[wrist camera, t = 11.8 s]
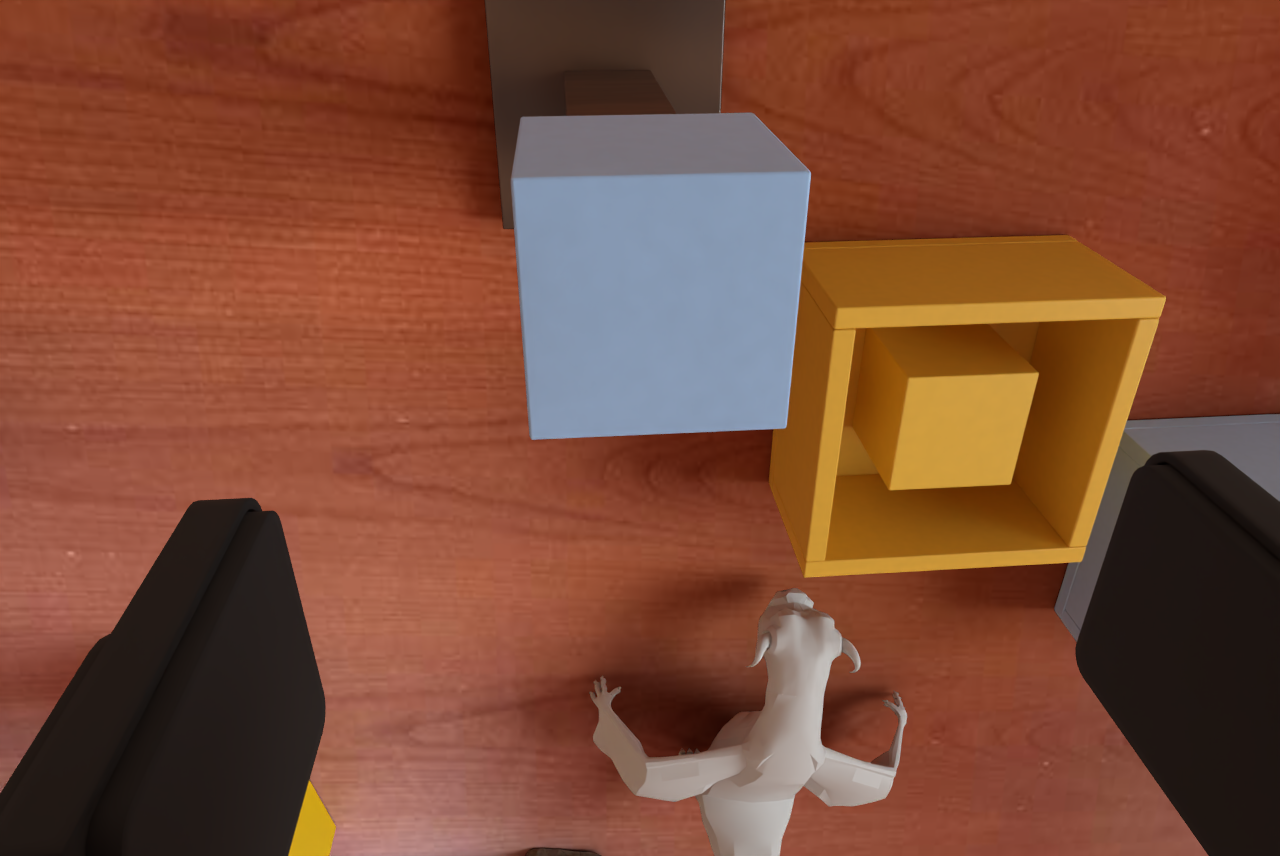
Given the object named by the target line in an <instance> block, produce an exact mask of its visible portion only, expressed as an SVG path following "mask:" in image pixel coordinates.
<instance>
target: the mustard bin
mask: <svg viewBox="0 0 1280 856" xmlns="http://www.w3.org/2000/svg"><path fill="white" fill-rule="evenodd" d="M1165 300H1166V297H1165V296H1163V295H1162V294H1160V293H1159V292H1157V291H1156V290H1154V289H1152V288H1151V287H1149V286H1148V285H1146V284H1144V283H1143V282H1141V281H1140V280H1138V279H1137V278H1135V277H1133V276H1132V275H1130V274H1129V273H1127V272H1126V271H1124V270H1122V269H1121V268H1119V267H1118V266H1116V265H1114V264H1113V263H1111V262H1110V261H1108V260H1107V259H1105V258H1103V257H1102V256H1100V255H1099V254H1097V253H1096V252H1094V251H1092V250H1091V249H1089V248H1088V247H1086V246H1084V245H1083V244H1081V243H1080V242H1078V241H1077V240H1075V239H1074V238H1072V237H1070V236H1069V235H1048V236H1012V237H977V238H942V239H907V240H871V241H836V242H804V252H803V262H802V273H801V283H800V293H799V304H798V314H797V324H796V335H795V345H794V356H793V366H792V376H791V387H790V397H789V407H788V418H787V426H786V428H784V429H773V439H772V451H771V462H770V473H769V485H770V488H771V490H772V493H773V496H774V499H775V501H776V504H777V507H778V509H779V512H780V515H781V517H782V520H783V523H784V525H785V528H786V531H787V533H788V536H789V539H790V541H791V544H792V547H793V549H794V552H795V555H796V557H797V560H798V563H799V565H800V568H801V571H802V573H803V576H804V577H823V576H840V575H858V574H876V573H894V572H912V571H930V570H947V569H965V568H983V567H1001V566H1019V565H1036V564H1054V563H1072V562H1082V559H1083V556H1084V553H1085V550H1086V545H1087V543H1088V540H1089V537H1090V534H1091V531H1092V528H1093V524H1094V521H1095V518H1096V515H1097V512H1098V509H1099V506H1100V503H1101V500H1102V496H1103V493H1104V490H1105V487H1106V484H1107V481H1108V478H1109V475H1110V472H1111V468H1112V465H1113V462H1114V459H1115V456H1116V453H1117V450H1118V447H1119V444H1120V440H1121V437H1122V434H1123V431H1124V428H1125V425H1126V422H1127V419H1128V416H1129V412H1130V409H1131V406H1132V403H1133V400H1134V397H1135V394H1136V391H1137V388H1138V384H1139V381H1140V378H1141V375H1142V372H1143V369H1144V366H1145V363H1146V360H1147V357H1148V353H1149V350H1150V347H1151V344H1152V341H1153V338H1154V335H1155V332H1156V329H1157V325H1158V322H1159V317H1160V316H1161V313H1162V310H1163V307H1164V303H1165ZM965 324H988V325H989V326H990V327H991V328H992V329H994V330H995V331H996V332H997V333H998V334H999V335H1000V336H1001V337H1002V338H1003V339H1004V340H1005V341H1006V342H1007V343H1008V344H1009V345H1010V346H1011V347H1012V348H1013V349H1014V350H1016V351H1017V352H1018V353H1019V354H1020V355H1021V356H1022V357H1023V358H1024V359H1025V360H1026V361H1027V362H1028V363H1029V364H1030V365H1031V366H1032V367H1033V368H1034V369H1035V370H1036V371H1038V373H1039V375H1038V379H1037V383H1036V387H1035V391H1034V395H1033V399H1032V403H1031V407H1030V411H1029V415H1028V418H1027V422H1026V426H1025V430H1024V434H1023V438H1022V442H1021V446H1020V450H1019V454H1018V458H1017V461H1016V465H1015V469H1014V473H1013V477H1012V481H1011V484H1010V485H991V486H970V487H950V488H929V489H909V490H888V488H887V486H886V485H885V483H884V481H883V480H882V478H881V476H880V474H879V473H878V471H877V469H876V467H875V466H874V464H873V462H872V460H871V459H870V457H869V455H868V453H867V452H866V450H865V448H864V447H863V445H862V443H861V441H860V440H859V438H858V436H857V434H856V433H855V431H854V429H853V427H852V425H853V418H854V411H855V403H856V396H857V389H858V382H859V375H860V368H861V361H862V354H863V347H864V340H865V332H866V328H881V327H909V326H937V325H965Z"/></svg>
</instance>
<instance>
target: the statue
mask: <svg viewBox="0 0 1280 856" xmlns="http://www.w3.org/2000/svg"><path fill="white" fill-rule="evenodd" d="M526 856H601V855H599V854H596V853H593V852H575V851H568V850H562V849H545V848H539V849H532V850H530V851H529V852H527V854H526Z"/></svg>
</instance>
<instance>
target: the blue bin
mask: <svg viewBox="0 0 1280 856" xmlns="http://www.w3.org/2000/svg"><path fill="white" fill-rule="evenodd" d="M1195 450H1210V451H1215V452H1216V453H1218V454H1220V455H1222V456H1223V457H1224V458H1226V459H1227V460H1228V461H1229V462H1231V463H1232V464H1233V465H1234V466H1236V467H1237V468H1238V469H1239V470H1241V471H1242V472H1243V473H1244V474H1246V475H1247V476H1248V477H1250V478H1251V479H1252V480H1253V481H1255V482H1256V483H1257V484H1258V485H1260V486H1261V487H1262V488H1263V489H1265V490H1266V491H1267V492H1268V493H1270V494H1271V495H1272V496H1273V497H1275V498H1276V499H1277V500H1278V501H1280V414H1264V415H1241V416H1219V417H1196V418H1173V419H1151V420H1128V421H1127V422H1126V425H1125V428H1124V431H1123V434H1122V437H1121V440H1120V444H1119V447H1118V450H1117V453H1116V456H1115V459H1114V462H1113V465H1112V468H1111V472H1110V475H1109V478H1108V481H1107V484H1106V487H1105V490H1104V493H1103V496H1102V500H1101V503H1100V506H1099V509H1098V512H1097V515H1096V518H1095V521H1094V524H1093V528H1092V531H1091V534H1090V537H1089V540H1088V543H1087V545H1086V550H1085V553H1084V556H1083V559H1082V562H1072V563H1068V566H1067V570H1066V573H1065V576H1064V579H1063V582H1062V586H1061V589H1060V592H1059V595H1058V598H1057V602H1056V605H1055V608H1054V611H1055V612H1056V613H1057V615H1058V616H1059V618H1060V619H1061V620H1062V622H1063V623H1064V625H1065V626H1066V628H1067V629H1068V630H1069V632H1070V633H1071V635H1072V636H1073V637H1074V639H1075V640H1076V642H1077V640H1078V637H1079V634H1080V631H1081V628H1082V625H1083V622H1084V618H1085V615H1086V612H1087V609H1088V606H1089V603H1090V600H1091V597H1092V594H1093V591H1094V588H1095V585H1096V582H1097V579H1098V576H1099V573H1100V570H1101V567H1102V564H1103V561H1104V558H1105V555H1106V552H1107V549H1108V546H1109V543H1110V540H1111V537H1112V534H1113V531H1114V528H1115V525H1116V522H1117V518H1118V515H1119V512H1120V509H1121V506H1122V503H1123V500H1124V497H1125V494H1126V491H1127V488H1128V485H1129V482H1130V479H1131V477H1132V475H1133V473H1134V472H1135V471H1136V470H1137V469H1138V468H1139V467H1142V466H1144V465H1145V463H1146V461H1147V460H1148V459H1149V458H1150V457H1151V456H1152V455H1154V454H1157V453H1159V452H1175V451H1195Z"/></svg>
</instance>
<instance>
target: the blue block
mask: <svg viewBox="0 0 1280 856" xmlns="http://www.w3.org/2000/svg"><path fill="white" fill-rule="evenodd" d="M810 180H811V172H810V171H809V170H808V169H807V168H806V167H805V166H804V165H803V164H802V163H801V162H800V160H799V159H798V158H797V157H796V156H795V155H794V154H793V153H792V152H791V151H790V150H789V149H788V148H787V147H786V146H785V145H784V144H783V143H782V142H781V141H780V140H779V139H778V138H777V137H776V136H775V135H774V134H773V133H772V132H771V131H770V130H769V129H768V128H767V127H766V126H765V125H764V124H763V123H762V122H761V121H760V120H759V119H758V118H757V117H756V116H755V115H754V114H753V113H710V114H653V115H596V116H538V117H522V118H521V119H520V125H519V131H518V138H517V144H516V150H515V156H514V163H513V169H512V175H511V193H512V207H513V220H514V233H515V247H516V260H517V274H518V287H519V301H520V314H521V327H522V341H523V354H524V368H525V381H526V394H527V408H528V421H529V435H530V438H531V439H533V440H535V439H558V438H581V437H603V436H626V435H649V434H672V433H695V432H718V431H741V430H764V429H784V428H786V426H787V418H788V407H789V397H790V387H791V376H792V366H793V356H794V345H795V335H796V324H797V314H798V304H799V293H800V283H801V273H802V262H803V252H804V242H805V231H806V221H807V211H808V200H809V190H810Z"/></svg>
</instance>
